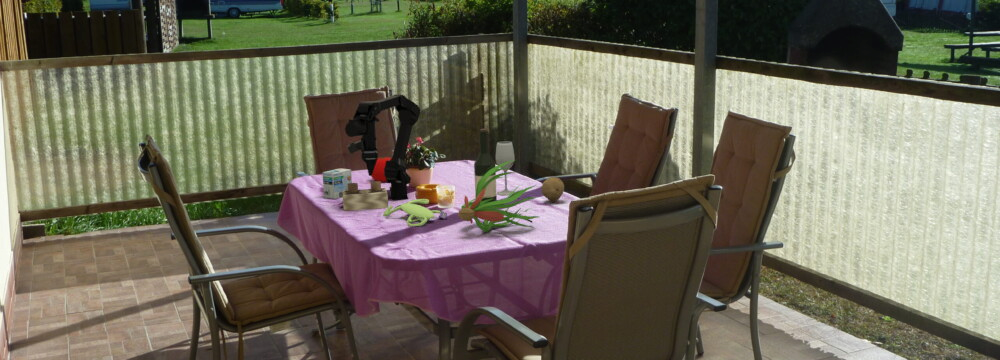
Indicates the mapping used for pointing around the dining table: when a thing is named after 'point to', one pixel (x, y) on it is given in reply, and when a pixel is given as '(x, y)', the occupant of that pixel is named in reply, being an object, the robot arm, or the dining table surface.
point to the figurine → (416, 211)
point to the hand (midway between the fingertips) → (370, 173)
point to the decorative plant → (493, 204)
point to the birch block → (365, 199)
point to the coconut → (552, 189)
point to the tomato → (380, 169)
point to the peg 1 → (352, 187)
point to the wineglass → (505, 160)
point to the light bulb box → (336, 182)
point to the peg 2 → (375, 186)
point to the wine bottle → (485, 167)
